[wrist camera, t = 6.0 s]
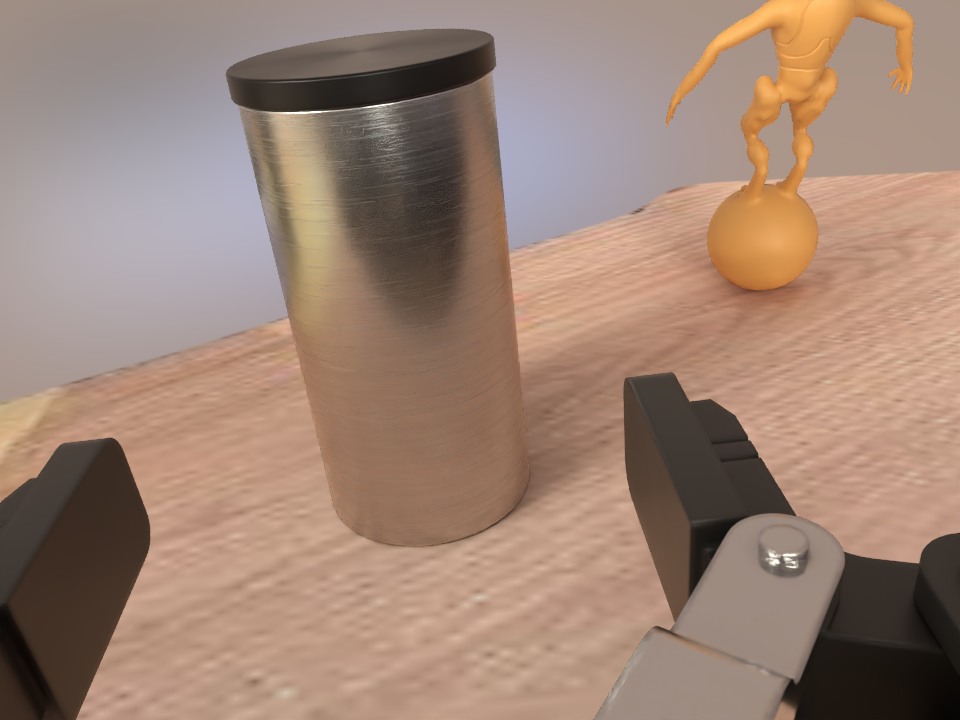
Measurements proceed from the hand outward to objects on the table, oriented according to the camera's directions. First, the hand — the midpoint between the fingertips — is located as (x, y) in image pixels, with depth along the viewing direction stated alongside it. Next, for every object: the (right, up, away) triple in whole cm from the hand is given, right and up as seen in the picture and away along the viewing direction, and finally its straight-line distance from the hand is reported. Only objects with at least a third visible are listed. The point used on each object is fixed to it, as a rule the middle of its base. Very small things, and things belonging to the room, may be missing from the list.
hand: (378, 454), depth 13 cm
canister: (0, -2, +10) cm, 10 cm away
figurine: (+13, +4, +18) cm, 23 cm away
